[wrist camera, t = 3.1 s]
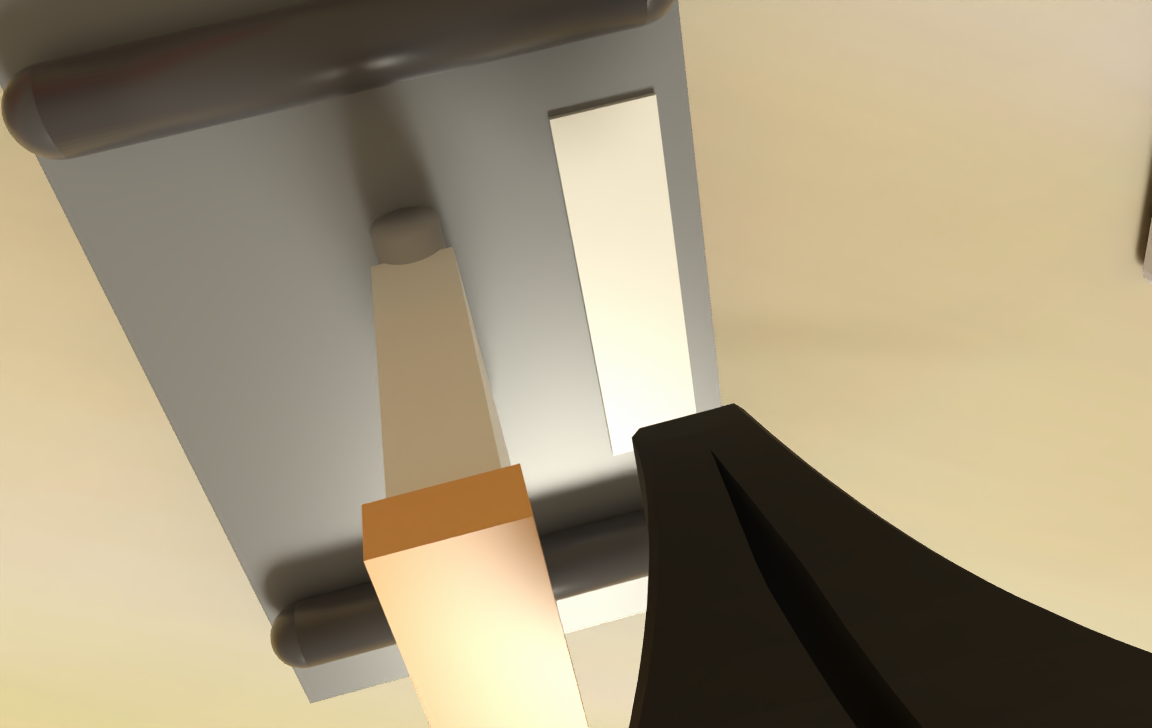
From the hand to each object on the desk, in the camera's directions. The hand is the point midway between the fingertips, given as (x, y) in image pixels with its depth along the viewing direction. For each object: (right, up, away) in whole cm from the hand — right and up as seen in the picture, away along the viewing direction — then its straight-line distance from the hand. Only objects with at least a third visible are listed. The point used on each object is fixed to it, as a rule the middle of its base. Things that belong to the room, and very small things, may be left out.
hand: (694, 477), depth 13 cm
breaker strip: (-4, +3, +5) cm, 7 cm away
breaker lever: (-4, +2, +3) cm, 5 cm away
